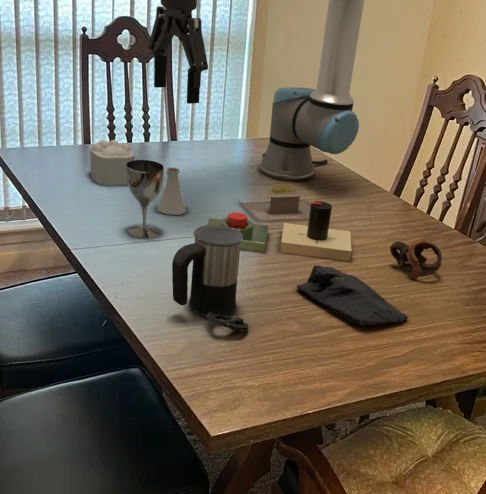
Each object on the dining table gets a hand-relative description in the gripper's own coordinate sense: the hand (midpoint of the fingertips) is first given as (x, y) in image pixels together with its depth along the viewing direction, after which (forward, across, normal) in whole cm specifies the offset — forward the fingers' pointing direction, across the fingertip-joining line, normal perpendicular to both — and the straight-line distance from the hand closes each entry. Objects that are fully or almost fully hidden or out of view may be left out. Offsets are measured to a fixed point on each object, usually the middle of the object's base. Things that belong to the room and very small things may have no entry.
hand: (176, 95), depth 170 cm
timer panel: (+27, +30, +20) cm, 45 cm away
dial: (+25, +30, +20) cm, 44 cm away
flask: (+28, -2, +1) cm, 28 cm away
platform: (+28, +9, +27) cm, 40 cm away
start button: (+24, +19, +5) cm, 31 cm away
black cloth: (+28, +56, +8) cm, 63 cm away
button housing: (+27, +19, +5) cm, 34 cm away
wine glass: (+27, +7, -12) cm, 31 cm away
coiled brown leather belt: (+28, +50, +33) cm, 65 cm away
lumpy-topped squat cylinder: (+27, -28, -1) cm, 39 cm away
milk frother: (+27, +48, -19) cm, 59 cm away
